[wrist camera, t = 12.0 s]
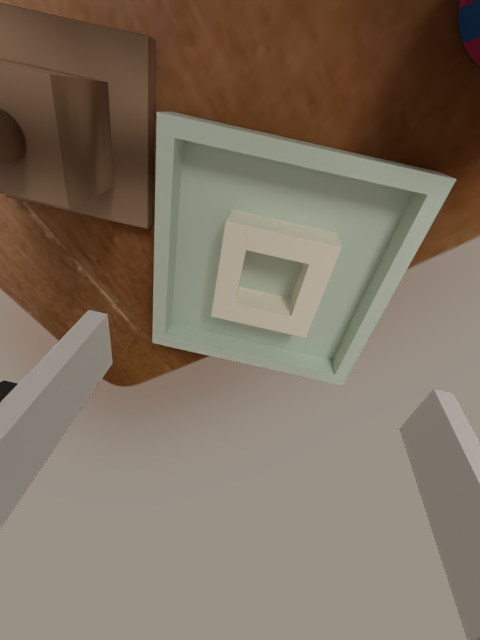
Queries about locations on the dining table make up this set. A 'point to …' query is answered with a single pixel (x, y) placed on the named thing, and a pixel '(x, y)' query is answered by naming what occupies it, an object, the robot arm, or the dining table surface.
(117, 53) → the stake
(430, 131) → the dining table surface
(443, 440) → the robot arm
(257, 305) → the ring
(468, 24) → the mug
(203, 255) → the tray
